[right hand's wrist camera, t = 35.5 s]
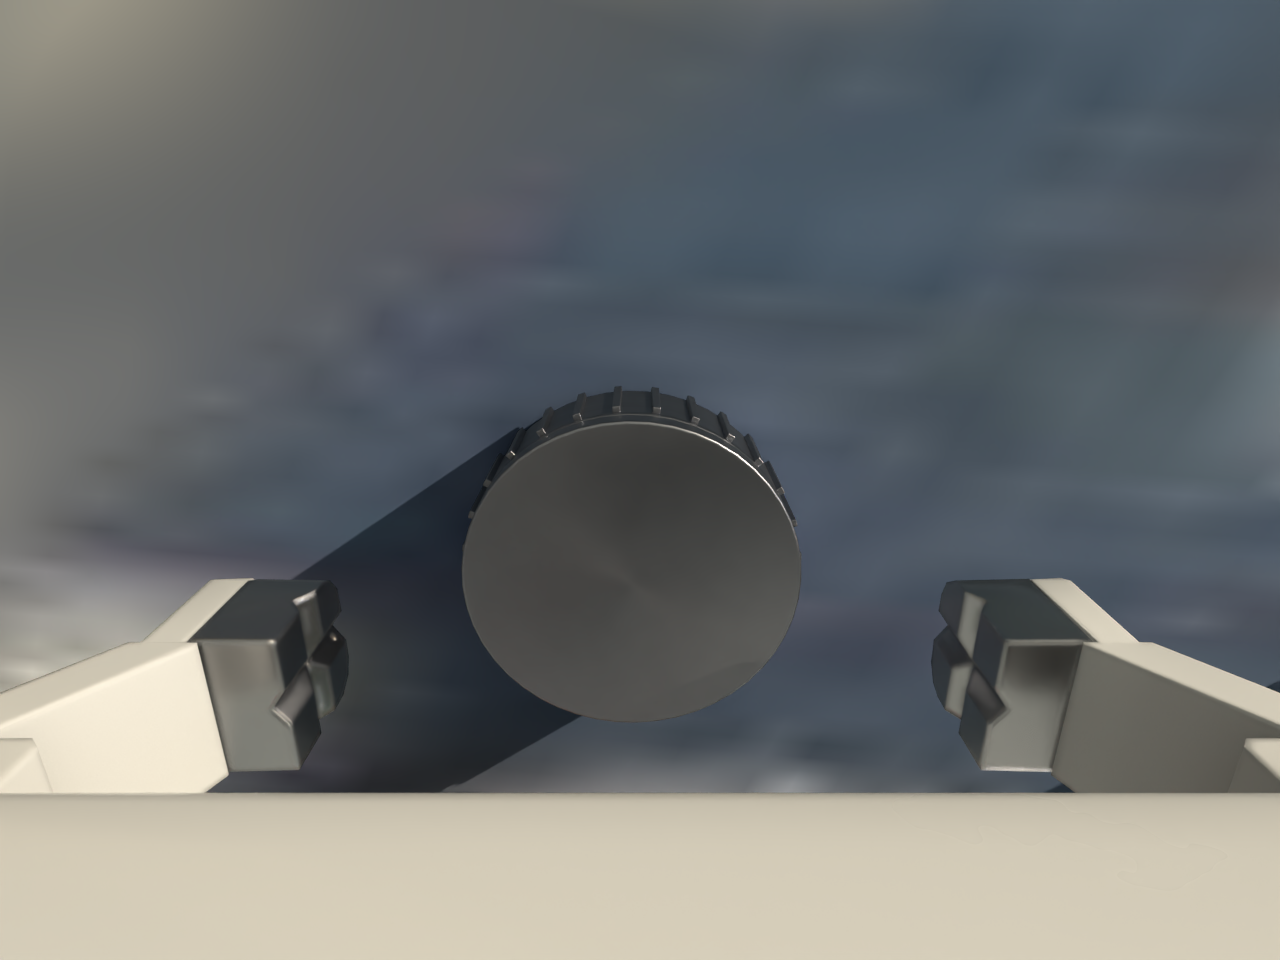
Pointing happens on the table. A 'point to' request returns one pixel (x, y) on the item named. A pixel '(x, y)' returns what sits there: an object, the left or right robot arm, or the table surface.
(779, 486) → the lid
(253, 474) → the table surface
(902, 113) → the table surface
